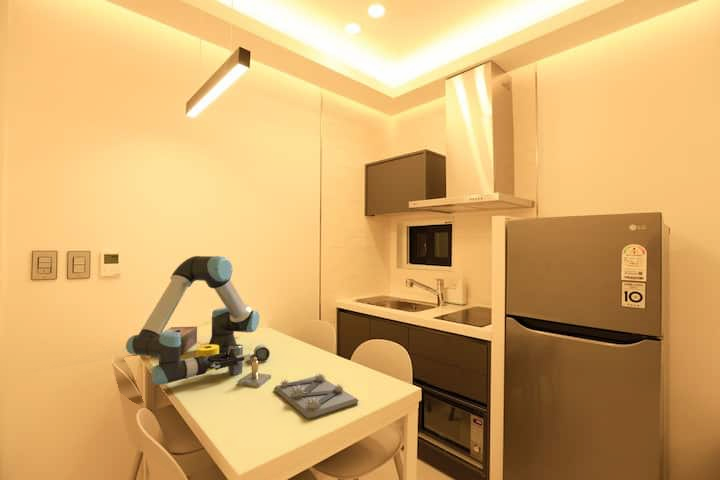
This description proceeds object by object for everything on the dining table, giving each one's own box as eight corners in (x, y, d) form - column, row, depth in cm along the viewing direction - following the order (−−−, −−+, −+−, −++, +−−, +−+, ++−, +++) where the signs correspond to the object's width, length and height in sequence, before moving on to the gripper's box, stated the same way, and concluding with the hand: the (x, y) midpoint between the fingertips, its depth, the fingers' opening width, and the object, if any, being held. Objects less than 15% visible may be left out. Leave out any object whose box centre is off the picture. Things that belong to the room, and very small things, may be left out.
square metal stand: (250, 376, 150) (250, 353, 151) (270, 378, 148) (271, 355, 148) (237, 384, 140) (237, 360, 141) (259, 387, 138) (259, 362, 138)
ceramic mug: (267, 356, 177) (267, 342, 178) (269, 361, 170) (269, 346, 170) (246, 359, 173) (246, 344, 174) (247, 364, 166) (247, 348, 166)
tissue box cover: (171, 344, 200) (171, 327, 201) (196, 343, 202) (197, 326, 203) (150, 357, 175) (151, 338, 175) (180, 356, 177) (181, 337, 177)
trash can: (234, 369, 159) (235, 343, 159) (245, 370, 157) (246, 344, 158) (224, 374, 151) (225, 348, 152) (235, 376, 150) (236, 349, 150)
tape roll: (198, 372, 154) (199, 351, 154) (193, 366, 162) (193, 346, 162) (221, 367, 160) (221, 347, 161) (215, 362, 168) (215, 343, 168)
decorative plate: (360, 405, 124) (360, 385, 124) (308, 422, 111) (308, 400, 111) (319, 379, 148) (319, 363, 148) (272, 391, 135) (272, 373, 135)
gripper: (185, 370, 148) (235, 358, 165) (204, 382, 135) (256, 367, 151) (186, 352, 148) (236, 342, 165) (204, 363, 135) (256, 351, 152)
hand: (245, 354), depth 158 cm, fingers open, 6 cm apart
